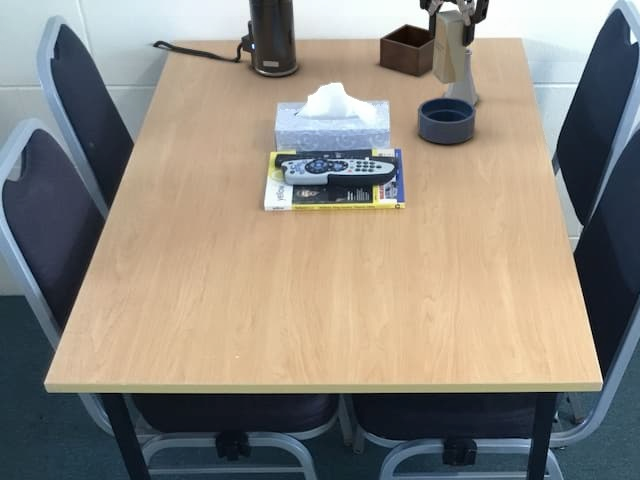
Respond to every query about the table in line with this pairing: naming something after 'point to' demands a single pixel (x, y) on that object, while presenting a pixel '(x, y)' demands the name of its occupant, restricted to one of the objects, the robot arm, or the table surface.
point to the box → (449, 47)
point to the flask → (464, 84)
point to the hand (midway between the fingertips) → (450, 40)
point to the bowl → (446, 120)
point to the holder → (407, 50)
